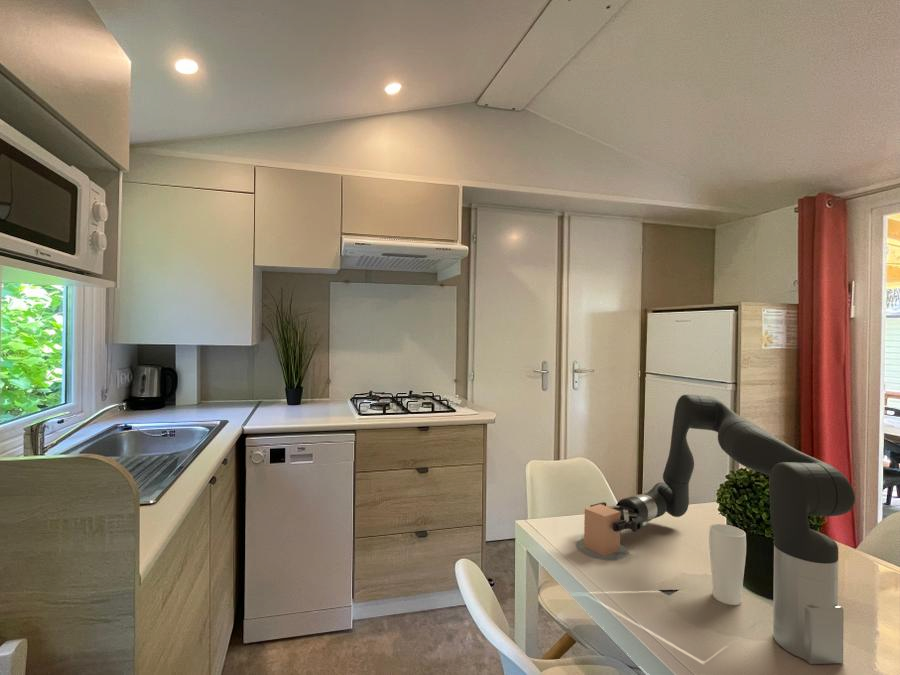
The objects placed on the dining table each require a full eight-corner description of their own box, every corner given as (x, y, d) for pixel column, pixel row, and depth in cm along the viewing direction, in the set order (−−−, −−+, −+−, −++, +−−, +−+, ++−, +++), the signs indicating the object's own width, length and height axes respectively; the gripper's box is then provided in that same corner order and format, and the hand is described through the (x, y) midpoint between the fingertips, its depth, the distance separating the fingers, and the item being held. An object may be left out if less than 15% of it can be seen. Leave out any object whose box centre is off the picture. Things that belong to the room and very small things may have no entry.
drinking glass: (751, 611, 92) (752, 538, 92) (715, 606, 94) (716, 534, 94) (737, 593, 99) (738, 525, 99) (703, 589, 100) (704, 522, 100)
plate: (637, 563, 112) (637, 559, 112) (586, 563, 111) (586, 560, 111) (614, 540, 125) (614, 537, 125) (569, 540, 124) (569, 537, 124)
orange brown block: (620, 550, 117) (620, 511, 117) (604, 556, 114) (604, 516, 114) (599, 540, 122) (600, 504, 123) (584, 546, 119) (584, 508, 119)
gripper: (615, 489, 133) (579, 499, 124) (661, 504, 121) (624, 516, 112) (615, 514, 133) (578, 526, 123) (660, 532, 121) (624, 546, 112)
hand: (600, 521), depth 118 cm, fingers open, 8 cm apart
